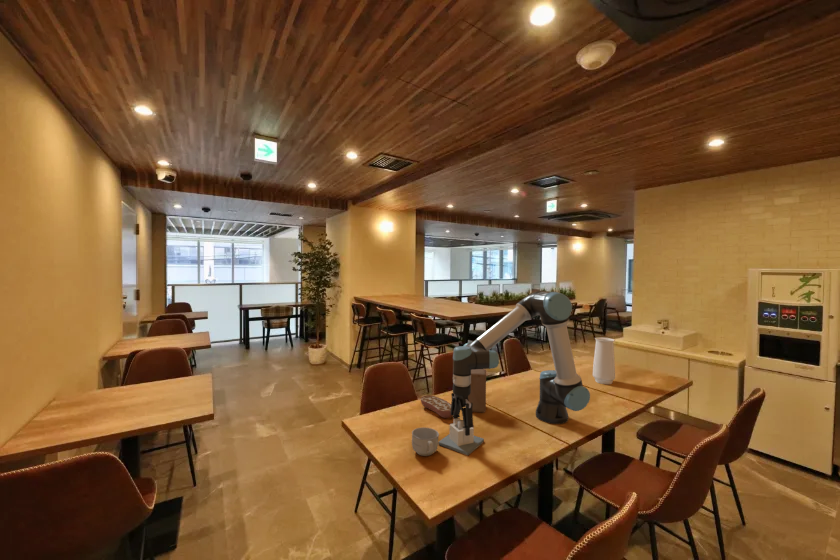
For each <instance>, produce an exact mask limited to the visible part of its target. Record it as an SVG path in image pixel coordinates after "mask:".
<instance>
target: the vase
mask: <svg viewBox="0 0 840 560" xmlns="http://www.w3.org/2000/svg"><path fill="white" fill-rule="evenodd" d="M594 340H595V345H594V346H595V347H594V356H593V363H592V364H593V366H592V377H593V378H594V381H595V382H596V383H598V384H602V385H611V384H613V381H614V380H616V365H615V364H616V363H615V362H616V361H615V347H614V342H615V339H614V338H611V337H610V338H609V337H602V336H601V337H594Z"/></svg>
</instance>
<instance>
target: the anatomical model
mask: <svg viewBox="0 0 840 560" xmlns="http://www.w3.org/2000/svg"><path fill="white" fill-rule="evenodd" d="M420 403H421V405H422V406H423V407H424V408H426V409H429V410H430V411H432V412H434V413H436V414H437V415H438V416H440V417H441V418H443V419H444V418H445V419H448V418H450V417H453V415H451V402H448V401H447V400H446V399H443V398H440V397H438V396H435V395H427V394H426V395H423V396H421V397H420ZM453 412H454V411H453Z"/></svg>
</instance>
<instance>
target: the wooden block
mask: <svg viewBox="0 0 840 560" xmlns="http://www.w3.org/2000/svg"><path fill="white" fill-rule="evenodd" d="M470 385H471V393H470V395H469V396H468V400H469V402H470V403H473V406H472V413H473V412H475V413H486V410H487V409H486V408H487V404H486V403H487V370H486V369H475V370H471V384H470Z"/></svg>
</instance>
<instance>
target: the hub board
mask: <svg viewBox="0 0 840 560" xmlns="http://www.w3.org/2000/svg"><path fill="white" fill-rule="evenodd" d="M463 427H464V422H463V419H460V420H458V421H457V428H458V429H459V430H461V429H463ZM484 442H485V439H484V438H483V437H480V436H477V435H474V443H470V444H466V445H461V446H457V445H456V444H455V443H454V442H453V441H452V440H451V439H450V433H449V434H447V435H446V436H445V437H443V438H441V439H440V440H438V446H441V447H442V448H446V449H449V450H451V451H455V452H457V453H460V454H462V455H465V456H469V455H471V453H473V452H474V451H475V450H476V449H477V448H479V446H481V445H482V444H483V443H484Z"/></svg>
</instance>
